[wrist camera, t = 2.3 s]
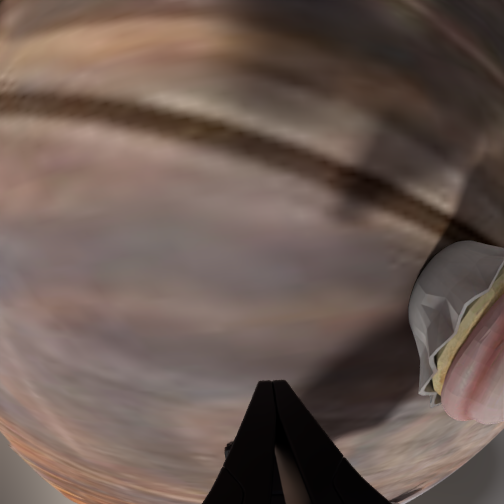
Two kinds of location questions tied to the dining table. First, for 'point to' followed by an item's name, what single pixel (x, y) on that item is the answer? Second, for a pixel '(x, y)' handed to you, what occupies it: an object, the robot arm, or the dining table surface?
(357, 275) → the dining table surface
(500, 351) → the cupcake
